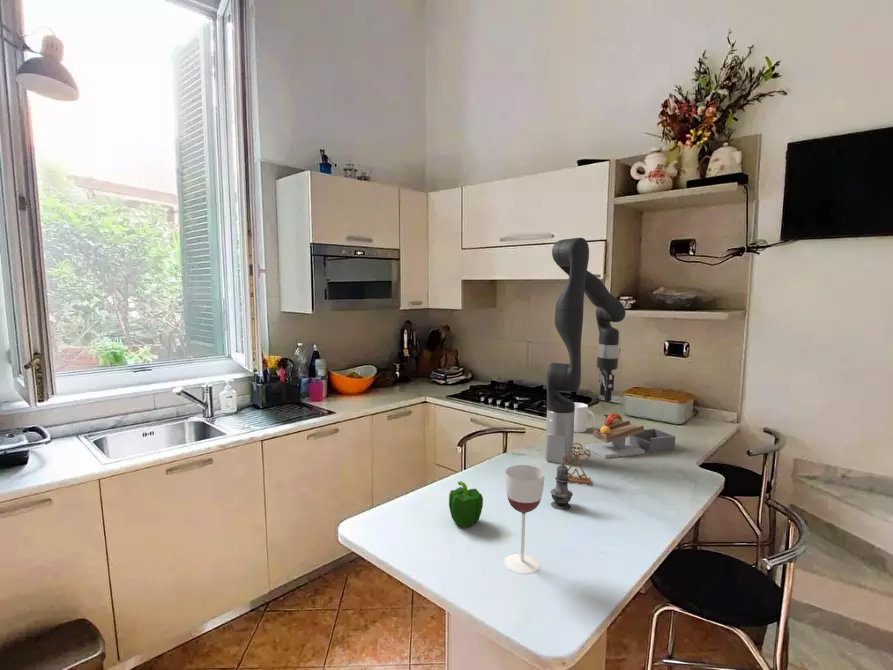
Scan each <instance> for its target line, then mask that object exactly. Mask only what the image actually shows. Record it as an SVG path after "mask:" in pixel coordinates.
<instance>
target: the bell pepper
mask: <svg viewBox="0 0 893 670" xmlns="http://www.w3.org/2000/svg"><path fill="white" fill-rule="evenodd" d="M457 484H458V485H459V487H457V488H455V489H451V490H450V492H449V494H448V507H449V508H448V509H449V511H450V516H451V518H452V520H453V522H454V523H455V524H456V525H457V526H458V527H461V528H470V527H472V526H473V525H475V524H477V523H478V522H479V520H480V517H481V515H482V510H483V505H484V498H483V495H482V493H480V492H479V491H478V489H477V488H470V489H468V487H467V484H466V483H465V482H464V481H461V480H459V481H457Z"/></svg>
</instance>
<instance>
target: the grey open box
mask: <svg viewBox="0 0 893 670" xmlns="http://www.w3.org/2000/svg"><path fill="white" fill-rule="evenodd" d="M628 443H630V444H632V445H634V446H636V447H639V448H641V449H643V450H646V451H645V452H647V451H648V453H654V451H657V452H664V451H663V450H666V451H671V450H670V449H674V450H676V449H675V447H676V436H675V435H672V434H670V433H667V432H665V431H663V430H660V429H657V428H644V432H642V433H639V434H636V435H632V436H629V442H628Z"/></svg>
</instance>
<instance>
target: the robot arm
mask: <svg viewBox="0 0 893 670" xmlns="http://www.w3.org/2000/svg"><path fill="white" fill-rule="evenodd" d="M551 255H552V259H553V261H554V262H555V264H556V266H558V267H559V269H561V270H562V271H563V272H564V273H566V275H568V280H567V282H566V285H565V287H564V288H563V290H562V292H561V293H560V295H559V297H558V298H557V301H556V304H555V307H554V309H555V310H554V326H555V327H554V328H556V331H557V333H558V334H559V336H560V339H561V340H562V341H563V343H564V345H565V348H566V350H567V353H568V356H569V363H561V362H551V363H550V364H549V365H548V367H547V370H546V426H545V428H546V429H545V455H544V456H545V457H546V458H545V457H544V458H545V460H546V462H548V461H552V462H551V463H554V462H557V463H556V464H560V463H563V461H564V462H565V463H567V462H568V461H565V460H563V457H564V456H565V455H566V454H568V453H572V452H571V449H572V451H573V450H574V449H573V448H571V445H572V444H573V443H574V433H575V432H574V415H575V404H574V401H572V400H570V399H568V398H567V397H565V396H563V395H562V394H561V393H560V391H561V392H568V393H569V392H571V393H575V392H578V391H579V389H580V387H581V386H580V385H581V380H582V363H581V361H582V354H581V353H582V352H581V351H582V334H583V324H584V323H583V322H584V302H585V301H584V299H585V295H586V297H587V298H588V300H589V301H590V302H591V304H592V305H593V306H595V307H596V309H595V318H596V319H595V320H596V323H597V328H598V333H599V335H598V347H597V352H596V354H597V355H596V367H597V369H598V370H599V373H598V375H599V377H598V383H599V387H600V388H599V395H600V396H604V401H605V402H611V400H612V392H614V391H615V388H614V387H615V374H614V373H613V372H612V371H614V370H617V369H619V368H618V367H619V365H618V364H619V353H620V351H619V350H620V349H619V343H620V332H619V329H617V328H615V327H613V326H612V324H611V322H612V323H620V322H622V321H623V320H624V319H625V317H626V314H627V313H626V308H625V306H624V304H623V303H622V302H621V300H619V299H618V298H616V297H615V296H614V295H613V294H612V293H611V292H610V291H609V290H608V288H607V287H606V285H605V284H604V282H603V281H602V280H601V279H600V278H599V277H597V276H596V275H595V274H593V273H592V272H590V271H589V270H588V265H589V259H590V247H589V243H588V241H587V239H585V238H584V237H573V238H565V239H564V238H563V239H560V240H557V241H556V242H555V243H554V244H553V246H552V249H551ZM572 447H574V445H573V446H572ZM573 452H574V451H573ZM564 458H565V459H568V460H569V459H570V458H572V461H574V460H573V458H574V455H571V454H570V455H567V456H565V457H564ZM569 463H571V460H569Z"/></svg>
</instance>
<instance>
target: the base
mask: <svg viewBox="0 0 893 670" xmlns="http://www.w3.org/2000/svg"><path fill="white" fill-rule="evenodd" d="M584 448H585V449H586V450H589V451H590V452H592V451H593V453H594V452H595V453H594V454H596V453H597V454H596V455H598V456H600V457H602V458H604V459H611V458H610V457H612V458H618V457H619V456H621V457H627V455H629V456H636V454H638V455H645V454H646V451H645V450H643V449H641V448H639V447H636V446H634V445H632V444H630V443H629V442H627V441H626V438H622V439H619V440H616V441H613V442H609V443H606V442H604V441H602V442H595V443H585V444H584ZM644 453H645V454H644Z"/></svg>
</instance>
